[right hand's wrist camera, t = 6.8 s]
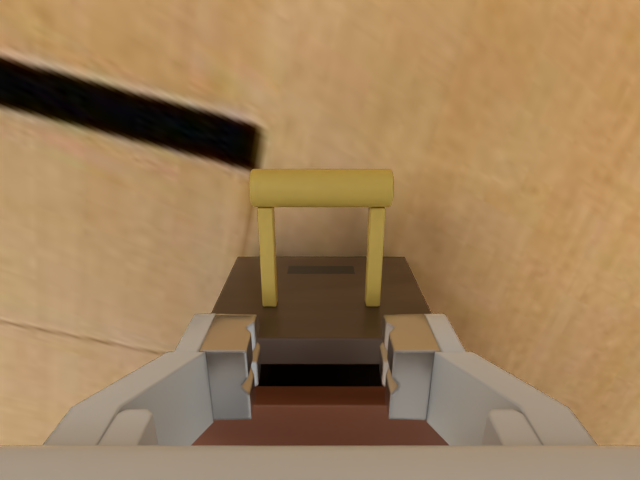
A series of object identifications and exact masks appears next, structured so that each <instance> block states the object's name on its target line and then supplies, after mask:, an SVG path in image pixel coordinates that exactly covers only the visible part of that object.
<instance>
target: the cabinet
mask: <svg viewBox="0 0 640 480" xmlns="http://www.w3.org/2000/svg"><path fill="white" fill-rule="evenodd" d="M255 397H256V398H255V403H254V408H253V412H252V417H251V419H238V420H213V423H212V424H211V425H210V426H209V427H208V428H207V429H206V430H205V431H204V432H203V433H202V434H201V435H200V436H199V438H198V439H197V440H196V441H195V442H194V443H193V444H192V445H191V446H450V445H449V444H448V443H447V442H446V441H445V440H444V439H443V438H442V437H441V436H440V435H439V434H438V433H437V432H436V431H435V430H434V429H433V428H432V427H431V426H430V425H429V424H428V423H427V420H401V419H389V417H388V412H387V407H386V403H385V387H384V386H256V387H255Z"/></svg>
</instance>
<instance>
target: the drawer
mask: <svg viewBox="0 0 640 480" xmlns="http://www.w3.org/2000/svg"><path fill="white" fill-rule="evenodd" d="M393 194H394V178H393V173H392V170H390V169H253V170H251V173H250V178H249V195H250V201H251V204H252V206H254V207H258V209H257V214H258V232H259V250H260V257H238V258H237V260H236V262H235V264H234V266H233V268H232V270H231V272H230V275H229V277H228V279H227V281H226V283H225V285H224V287H223V289H222V292H221V294H220V296H219V298H218V300H217V302H216V304H215V306H214V309H213V311H212V313H216V314H257V315H258V318H259V329H260V331H259V335H258V339H257V342H258V343H259V345H260V346H261V369H260V378H259V383H258V385H257V386H383V385H382V383H381V378H380V370H379V346H380V345H381V343H382V342H383V339H382V335H381V319H382V315H400V314H431V312H430V310H429V307H428V305H427V303H426V301H425V299H424V297H423V295H422V293H421V291H420V289H419V287H418V284H417V282H416V280H415V278H414V276H413V274H412V272H411V270H410V268H409V266H408V263H407V261H406V259H405V257H383V244H384V227H385V207H390V206H391V204H392V201H393ZM274 207H369V215H368V237H367V257H276V244H275V219H274Z"/></svg>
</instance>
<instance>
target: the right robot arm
mask: <svg viewBox="0 0 640 480" xmlns="http://www.w3.org/2000/svg"><path fill="white" fill-rule="evenodd" d="M259 331H260V329H259V318H258V315H257V314H216V313H209V314H195V315H194V316H193V318H192V320H191V322H190V323H189V325H188V327H187V329H186V331H185V333H184V335H183V336H182V338H181V340H180V342H179V344H178V346H177V347H176V349H175V351H174V352H167V353H165V354H163V355H161V356H160V357H158V358H156V359H155V360H153V361H151V362H149V363H148V364H146V365H144V366H142V367H141V368H139V369H137V370H135V371H134V372H132V373H130V374H128V375H127V376H125V377H123V378H122V379H120V380H118V381H116V382H115V383H113V384H111V385H109V386H108V387H106V388H104V389H102V390H101V391H99V392H97V393H95V394H94V395H92V396H90V397H89V398H87V399H85V400H83V401H82V402H80V403H78V404H76V405H75V406H73V407H71V409H70V410H69V411H68V413H67V414H66V415H65V416H64V418H63V419H62V420H61V422H60V423H59V424H58V426H57V427H56V428H55V430H54V431H53V432H52V433H51V435H50V436H49V437H48V439H47V440H46V441H45V443H44V444H43V445H28V446H0V480H640V445H597V444H596V442H595V441H594V440H593V438H592V437H591V436H590V435H589V433H588V432H587V431H586V429H585V428H584V427H583V425H582V424H581V423H580V421H579V420H578V419H577V417H576V416H575V415H574V413H573V412H572V411H571V410H570V408H569V407H567V406H565V405H563V404H562V403H560V402H558V401H556V400H555V399H553V398H551V397H550V396H548V395H546V394H544V393H543V392H541V391H539V390H537V389H536V388H534V387H532V386H530V385H529V384H527V383H525V382H524V381H522V380H520V379H518V378H517V377H515V376H513V375H511V374H510V373H508V372H506V371H505V370H503V369H501V368H499V367H498V366H496V365H494V364H492V363H491V362H489V361H487V360H485V359H484V358H482V357H480V356H479V355H477V354H475V353H473V352H466V351H465V349H464V347H463V346H462V344H461V342H460V340H459V338H458V336H457V335H456V333H455V331H454V329H453V327H452V326H451V324H450V322H449V320H448V318H447V317H446V315H445V314H443V313H436V314H400V315H382V319H381V335H382V339H383V342H382V343H381V345H380V346H379V370H380V378H381V383H382V385H383V386H384V387H385V403H386V407H387V412H388V417H389V419H401V420H427V423H428V424H429V425H430V426H431V427H432V428H433V429H434V430H435V431H436V432H437V433H438V434H439V435H440V436H441V437H442V438H443V439H444V440H445V441H446V442H447V443H448V444H449V445H450V446H191V445H192V444H193V443H194V442H195V441H196V440H197V439H198V438H199V436H200V435H201V434H202V433H203V432H204V431H205V430H206V429H207V428H208V427H209V426H210V425H211V424H212V423H213V420H238V419H251V417H252V412H253V408H254V403H255V398H256V397H255V387H256V386H257V385H258V383H259V378H260V369H261V346H260V345H259V343H258V342H257V339H258V335H259Z"/></svg>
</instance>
